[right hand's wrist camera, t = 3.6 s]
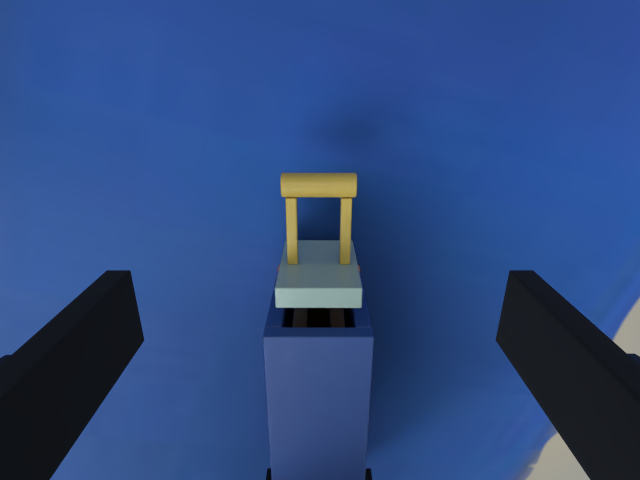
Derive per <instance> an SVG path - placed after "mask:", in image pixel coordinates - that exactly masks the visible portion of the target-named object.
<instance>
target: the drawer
mask: <svg viewBox="0 0 640 480" xmlns="http://www.w3.org/2000/svg"><path fill="white" fill-rule="evenodd" d="M281 195H282V197H286V230H287V240H285V244H284V248H283V253H282V258H281V262H280V267H279V271H278V276H277V280H276V285H275V306H276V308H294V315H293V324H292V327H327V328H345V320H344V311H343V308H361V307H362V290H363V288H362V283H361V279H360V274H359V269H358V264H357V259H356V254H355V249H354V245H353V241H352V240H351V221H352V197H356V195H357V174H356V173H282V174H281ZM297 197H341V207H340V240H298V217H297Z"/></svg>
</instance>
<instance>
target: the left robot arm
mask: <svg viewBox="0 0 640 480" xmlns="http://www.w3.org/2000/svg"><path fill="white" fill-rule="evenodd" d="M266 480H272V477H271V468H268V469H267V476H266ZM365 480H372V475H371V469H366V473H365Z"/></svg>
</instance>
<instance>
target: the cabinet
mask: <svg viewBox="0 0 640 480" xmlns="http://www.w3.org/2000/svg"><path fill="white" fill-rule="evenodd" d="M279 267H280V265H279V266H278V270H277V276H278V271H279ZM358 269H359V274H360V279H361V283H362V288H363V290H362V307H361V308H343V311H344V320H345V328H327V327H292V324H293V315H294V308H276V306H275V285H276V281H275V285H274V290H273V294H272V299H271V303H270V308H269V312H268V317H267V321H266V326H265V330H264V335H263V347H264V364H265V380H266V396H267V412H268V428H269V445H270V461H271V477H272V480H365V473H366V457H367V442H368V426H369V411H370V395H371V379H372V364H373V348H374V334H373V330H372V325H371V320H370V315H369V310H368V306H367V301H366V296H365V292H364V287H363V282H362V277H361V273H360V266H359V265H358ZM277 276H276V280H277Z"/></svg>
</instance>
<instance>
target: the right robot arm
mask: <svg viewBox="0 0 640 480" xmlns="http://www.w3.org/2000/svg"><path fill="white" fill-rule="evenodd" d="M143 341H144V337H143V332H142V327H141V322H140V317H139V312H138V307H137V302H136V297H135V292H134V287H133V282H132V277H131V272H130V271H106V272H105V273H104V274H103V275H101V276H100V277H99V278H98V279H97V280H96V281H95V282H94V283H92V284H91V285H90V286H89V287H88V288H87V289H86V290H84V291H83V292H82V293H81V294H80V295H79V296H78V297H77V298H75V299H74V300H73V301H72V302H71V303H70V304H69V305H68V306H66V307H65V308H64V309H63V310H62V311H61V312H60V313H59V314H57V315H56V316H55V317H54V318H53V319H52V320H51V321H50V322H48V323H47V324H46V325H45V326H44V327H43V328H42V329H41V330H39V331H38V332H37V333H36V334H35V335H34V336H33V337H32V338H30V339H29V340H28V341H27V342H26V343H25V344H24V345H23V346H21V347H20V348H19V349H18V350H17V351H16V352H15V353H13V354H12V355H5V356H3V357H2V358H0V480H50V478H51V477H52V475H53V474H54V472H55V471H56V469H57V468H58V467H59V465H60V464H61V462H62V461H63V459H64V458H65V456H66V455H67V453H68V452H69V450H70V449H71V447H72V446H73V444H74V443H75V441H76V440H77V439H78V437H79V436H80V434H81V433H82V431H83V430H84V428H85V427H86V425H87V424H88V422H89V421H90V419H91V418H92V416H93V415H94V414H95V412H96V411H97V409H98V408H99V406H100V405H101V403H102V402H103V400H104V399H105V397H106V396H107V394H108V393H109V391H110V390H111V388H112V387H113V386H114V384H115V383H116V381H117V380H118V378H119V377H120V375H121V374H122V372H123V371H124V369H125V368H126V366H127V365H128V363H129V362H130V361H131V359H132V358H133V356H134V355H135V353H136V352H137V350H138V349H139V347H140V346H141V344H142V343H143ZM496 341H497V343H498V344H499V346H500V347H501V349H502V350H503V352H504V353H505V355H506V356H507V358H508V359H509V361H510V362H511V363H512V365H513V366H514V368H515V369H516V371H517V372H518V374H519V375H520V377H521V378H522V380H523V381H524V383H525V384H526V386H527V387H528V389H529V390H530V391H531V393H532V394H533V396H534V397H535V399H536V400H537V402H538V403H539V405H540V406H541V408H542V409H543V411H544V412H545V414H546V415H547V416H548V418H549V419H550V421H551V422H552V424H553V425H554V427H555V428H556V430H557V431H558V433H559V434H560V436H561V437H562V439H563V440H564V442H565V443H566V444H567V446H568V447H569V449H570V450H571V452H572V453H573V455H574V456H575V458H576V459H577V461H578V462H579V464H580V465H581V467H582V468H583V469H584V471H585V472H586V474H587V475H588V477H589V478H590V480H640V357H639V356H638V355H636V354H626V353H625V352H624V351H623V350H622V349H621V348H620V347H619V346H617V345H616V344H615V343H614V342H613V341H612V340H611V339H610V338H608V337H607V336H606V335H605V334H604V333H603V332H602V331H601V330H599V329H598V328H597V327H596V326H595V325H594V324H593V323H592V322H590V321H589V320H588V319H587V318H586V317H585V316H584V315H583V314H581V313H580V312H579V311H578V310H577V309H576V308H575V307H574V306H572V305H571V304H570V303H569V302H568V301H567V300H566V299H565V298H563V297H562V296H561V295H560V294H559V293H558V292H557V291H555V290H554V289H553V288H552V287H551V286H550V285H549V284H548V283H546V282H545V281H544V280H543V279H542V278H541V277H540V276H539V275H537V274H536V273H535V272H534V271H510V272H509V277H508V282H507V287H506V292H505V297H504V302H503V307H502V312H501V317H500V322H499V327H498V332H497V337H496Z"/></svg>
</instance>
